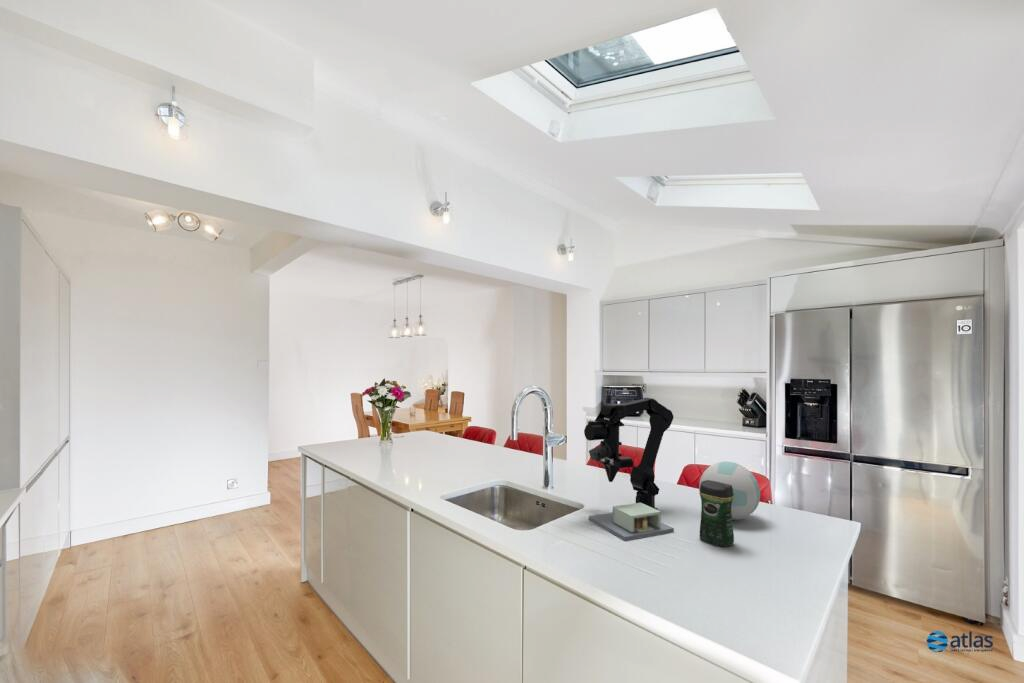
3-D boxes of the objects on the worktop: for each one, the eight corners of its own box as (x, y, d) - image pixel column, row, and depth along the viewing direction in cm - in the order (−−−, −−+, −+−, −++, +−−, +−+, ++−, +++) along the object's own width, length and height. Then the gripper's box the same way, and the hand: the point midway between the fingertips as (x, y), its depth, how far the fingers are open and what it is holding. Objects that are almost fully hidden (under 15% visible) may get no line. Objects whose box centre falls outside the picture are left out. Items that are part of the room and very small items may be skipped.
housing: (633, 513, 163) (633, 499, 163) (660, 527, 150) (660, 511, 150) (605, 517, 158) (605, 503, 158) (631, 532, 145) (631, 516, 146)
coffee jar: (737, 543, 142) (737, 483, 143) (725, 549, 137) (726, 487, 137) (707, 533, 149) (708, 476, 150) (695, 539, 144) (695, 480, 145)
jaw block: (638, 522, 154) (638, 510, 154) (646, 526, 151) (646, 514, 151) (629, 524, 153) (629, 512, 153) (636, 528, 149) (637, 516, 149)
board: (634, 512, 169) (634, 501, 169) (673, 531, 150) (673, 519, 150) (588, 519, 160) (588, 507, 160) (624, 540, 142) (624, 527, 142)
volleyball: (754, 532, 151) (754, 472, 152) (692, 519, 163) (692, 462, 164) (764, 516, 167) (764, 461, 167) (706, 505, 179) (707, 454, 180)
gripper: (578, 435, 172) (578, 477, 171) (608, 444, 154) (607, 491, 154) (603, 434, 176) (602, 474, 176) (634, 442, 159) (634, 487, 159)
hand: (610, 481), depth 166 cm, fingers closed
